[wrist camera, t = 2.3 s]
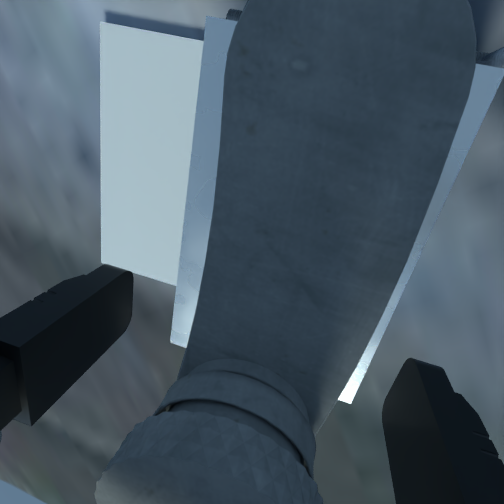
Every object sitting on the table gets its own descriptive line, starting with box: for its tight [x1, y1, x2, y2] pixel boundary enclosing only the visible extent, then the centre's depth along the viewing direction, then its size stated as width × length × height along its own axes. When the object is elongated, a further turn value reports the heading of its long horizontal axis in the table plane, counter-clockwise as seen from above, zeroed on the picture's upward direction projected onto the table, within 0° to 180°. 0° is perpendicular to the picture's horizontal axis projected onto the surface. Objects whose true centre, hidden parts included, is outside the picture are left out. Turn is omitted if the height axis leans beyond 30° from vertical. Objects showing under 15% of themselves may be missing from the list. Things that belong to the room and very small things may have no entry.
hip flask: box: [94, 0, 477, 504], centre depth 14 cm, size 16×4×20 cm, turn 162°
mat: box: [100, 22, 204, 286], centre depth 24 cm, size 8×18×1 cm, turn 169°
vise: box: [170, 9, 504, 404], centre depth 19 cm, size 14×19×7 cm
